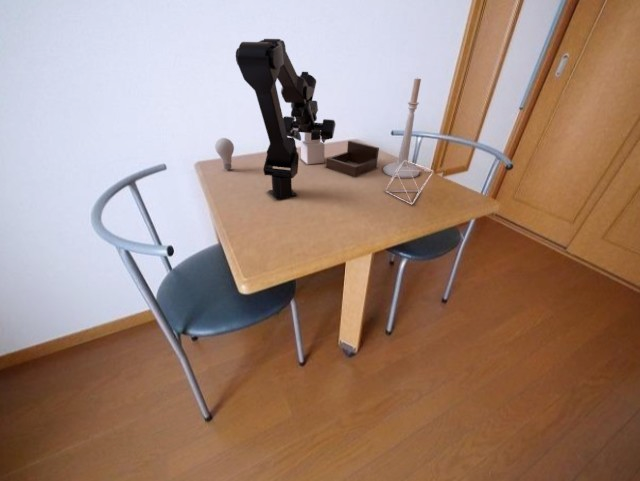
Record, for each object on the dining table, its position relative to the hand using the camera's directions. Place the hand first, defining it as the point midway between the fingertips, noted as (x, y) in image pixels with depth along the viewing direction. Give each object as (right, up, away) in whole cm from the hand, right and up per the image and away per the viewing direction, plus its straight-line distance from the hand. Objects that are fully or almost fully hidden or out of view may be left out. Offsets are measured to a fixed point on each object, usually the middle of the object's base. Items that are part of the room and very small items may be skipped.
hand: (312, 140), depth 108 cm
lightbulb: (-30, -13, -6) cm, 33 cm away
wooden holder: (+15, -10, -1) cm, 18 cm away
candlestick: (+32, -13, -3) cm, 35 cm away
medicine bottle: (0, -7, +5) cm, 8 cm away
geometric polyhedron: (+29, -24, -21) cm, 43 cm away
